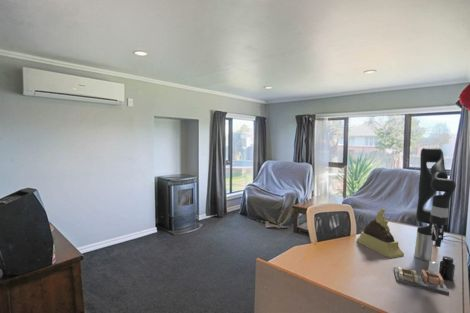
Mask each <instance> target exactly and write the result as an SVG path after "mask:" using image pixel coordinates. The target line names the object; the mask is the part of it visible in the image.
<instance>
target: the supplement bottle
mask: <svg viewBox="0 0 470 313" xmlns="http://www.w3.org/2000/svg"><path fill="white" fill-rule="evenodd" d="M438 268H439V269H438V273H440V275H441V277H442V278H443V280H444V281H450V282H453V281H454V279H455V273H456V272H455V270H456V265H455V264H454V258H453V257H451V256H446V255H444V256H442V260H441V261H439V266H438Z"/></svg>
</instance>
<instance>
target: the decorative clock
mask: <svg viewBox="0 0 470 313" xmlns="http://www.w3.org/2000/svg"><path fill="white" fill-rule="evenodd" d="M385 211H386V209H385V208H381V209H380V210H378V212H377V214H376V215H375V216H376V217H375V219H374V220H371V221H370V222H369V223H368V224H366V225H365V227H364V230H363V231H361V232H360V235H359V237H358V238H356V242H357V243H358V244H360V245H363V246H364V247H367V248H369V249H371V250H373V251H375V252H377V253H379V254H381V255H383V256H386V257H387V258H389V259H394V258H398V257H399V258H400V257H404V255H405V253H404V252H403V251H402V250H401V249H400V247H399V241H397V240H395V238H394V236H393V234H392V232H391V229H390V227H389V224H388V223H389V221H388V220H387V219H385V218H386V214H385Z"/></svg>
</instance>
